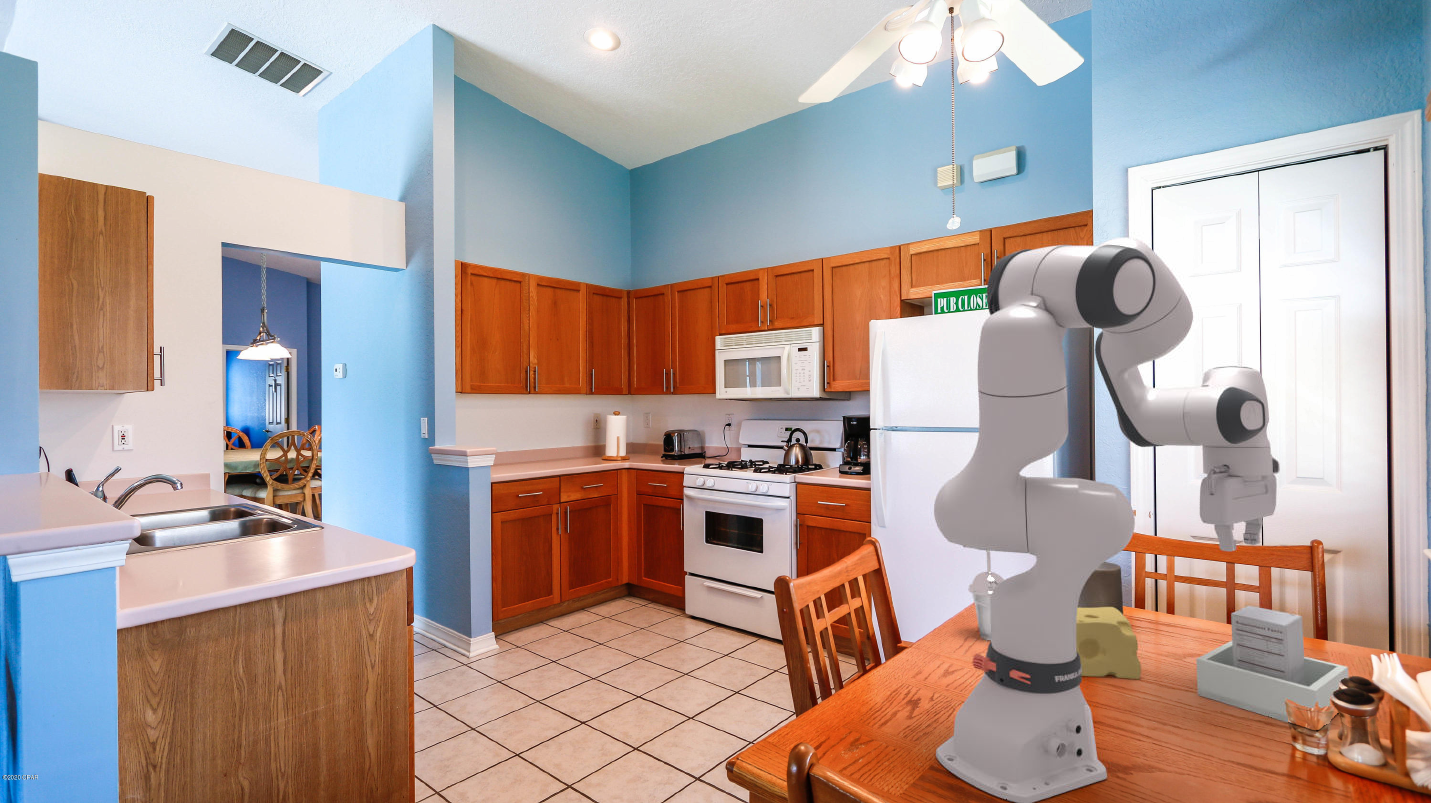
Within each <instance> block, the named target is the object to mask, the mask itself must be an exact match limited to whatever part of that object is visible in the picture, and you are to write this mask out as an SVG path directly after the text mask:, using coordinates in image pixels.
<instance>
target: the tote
mask: <svg viewBox="0 0 1431 803" xmlns="http://www.w3.org/2000/svg"><path fill="white" fill-rule="evenodd" d="M1195 661H1196V662H1195V663H1196V680H1197V681H1196V683H1197V684H1196V685H1197V686H1196V687H1197V696H1200V697H1204V698H1206V699H1207V698H1208V699H1209V700H1210V699H1211V700H1213V701H1217V702H1220V703H1223V704H1226V705H1230V706H1232V707H1236V708H1239V709H1243V710H1245V711H1249V712H1252V713H1255V714H1258V715H1262V716H1265V717H1268V716H1269V717H1268V718H1271V717H1272V718H1271V719H1275V720H1278V721H1282V722H1285V723H1288V716H1287V712H1286V705H1285V700H1286V699H1288V700H1291V701H1293V702H1295V703H1297V704H1299V705H1301V706H1305V707H1307V708H1314V706H1315V704H1316V702H1318V706H1319V707H1320V708H1323V707H1325V706H1330V695H1331V694H1332V693H1333V692H1334V691H1336V690H1338V689H1339V682H1340V681H1341V680H1342V679H1344V678H1349V667H1348V666H1345V665H1341V664H1337V663H1333V662H1328V661H1326V660H1325V661H1324V660H1321V659H1317V658H1312V657H1307V656H1304V663H1305V681H1306V686H1304V685H1300V684H1297V683H1293V682H1289V681H1285V680H1282V679H1278V678H1274V677H1270V676H1267V675H1263V674H1259V673H1255V672H1252V671H1248V670H1244V669H1240V668H1237V667H1234V664H1233V645H1232V640H1231V641H1228V642H1226V643H1224V644H1223V645H1220V646H1218V647H1217V648H1215V649H1213V650H1211V651H1209V652H1207V653H1205V654H1202V655H1201V656H1199V657H1197V658H1196V659H1195ZM1288 724H1289V723H1288Z"/></svg>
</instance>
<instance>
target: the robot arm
mask: <svg viewBox="0 0 1431 803" xmlns="http://www.w3.org/2000/svg"><path fill="white" fill-rule="evenodd" d="M989 274H990V275H989V277H988V281H987V288H986V300H987V309H988V313H989V316H988V317H987V318H986V319H985V321H984V322H983V325H982V327H981V331H980V336H979V344H978V353H977V388H978V389H977V391H978V410H979V411H978V412H979V414H978V416H979V421H978V438H977V443H976V445H975V446H976V447H975V449H974V453H973V454H972V456H971V458H970V460H969V461H968V463H967V464H966V465H965V466H964V468H962V470H961V471H960V472H959V473H958V474H956V475H955V476H953V477H952V478H951V479H949V480H948V481H946V482H945V483H944V484H943V485H942V486H941V487H940V490H938V493H937V494H936V498H935V499H934V503H933V504H934V505H933V513H934V514H933V515H934V520H935V523H936V525H937V528H938V529H939V532H940V533H941V535H942V536H943V537H944V538H945V539H946V540H947V541H948V542H949V543H951V544H955V545H959V546H966V547H970V548H969V549H973V548H974V550H978V551H979V550H980V551H986V550H987V551H990V552H1003V553H1015V554H1016V553H1019V554H1029V555H1032V556H1034V557H1035V558H1036V560H1035V563H1034V565H1033V566H1032V567H1031V568H1029V569H1028V570H1026V571H1024V572H1021V573H1017V574H1015V575H1013V576H1010V577H1008V578H1006V579H1004V581H1002V582H1000V583H999V584H998V585H997V586H996V587H995V588H994V589H993V591H992V593H991V596H990V620H991V641H990V642H989V643H988V647H987V651H986V652H985V656H983V655H981V654H979V653H975V654H974V656H973V658H972V661H971V662H972V666H973V668H974V669H976V670H981V671H983V672H984V674H983V675H982V677H981V679H980V680H979V682H978V683H977V684H976V686H975V687H974V688H973V690H972V691H971V693H970V694H969V695H968V697H967V698H966V700H965V701H964V703H963V704H962V705H961V707H960V708H959V710H958V711H957V713H956V715H955V719H954V723H953V724H954V725H953V726H954V728H953V735H952V736H951V737H949V738H948V739H947V740H946V741H944V742H943V743H942V744H941V745H940V746H938V747H937V748H936V752H935V757H936V759H937V760H938V761H939V763H940V764H941V765H942V766H943V767H944V768H945V769H947V770H948V771H949V772H951V773H952V774H954V775H955V776H956V777H958V778H960V779H961V780H962V781H964V782H967V783H968V784H970V785H972V786H974V787H975V788H977V789H979V790H982V791H983V792H986V793H988V794H990V795H992V796H995V797H996V798H997V797H998V798H1001V799H1004V800H1006V799H1007V800H1006V801H1009V802H1014V803H1035V802H1039V801H1041V800H1044V799H1048V798H1051V797H1053V796H1057V795H1060V794H1063V793H1066V792H1069V791H1072V790H1076V789H1079V788H1081V787H1082V788H1083V787H1085V786H1088V785H1090V784H1095V783H1097V782H1101V781H1104V780H1106V779H1108V773H1107V768H1106V767H1105V764H1103V763H1102V762H1101V761H1100V760H1099V759H1098V754H1097V753H1098V752H1097V745H1096V738H1095V730H1094V723H1093V715H1092V711H1091V707H1090V706H1089V704H1088V703H1087V700H1086V699H1085V697H1084V694H1083V692H1082V690H1081V686H1080V684H1081V683H1082V681H1083V680H1082V677H1083V676H1081V673H1082V665H1081V661H1080V655H1079V654H1078V652H1077V647H1076V623H1077V608H1078V601H1079V597H1080V594H1081V591H1082V589H1083V587H1084V585H1085V583H1086V581H1087V580H1088V578H1089V577H1090V576H1091V574H1092V573H1093V572H1094V571H1095V570H1096V569H1097V568H1098V567H1099V566H1100V565H1101V564H1102V563H1103V562H1107V561H1108V560H1109V559H1111V558H1113V557H1115V556H1117V555H1118V554H1119V553H1121V552H1122V551H1123V550H1124V549H1125V548H1126V547H1127V546H1128V544H1129V543H1130V541H1131V539H1132V537H1133V535H1134V532H1135V525H1136V523H1135V522H1136V521H1135V519H1136V518H1135V514H1134V510H1133V507H1132V505H1131V502H1130V501H1129V499H1128V498H1127V497H1126V495H1125V493H1123V491H1121V489H1119V488H1118V487H1117V486H1115V484H1111V483H1110V484H1109V483H1106V482H1101V481H1096V480H1090V479H1084V478H1078V477H1040V476H1039V477H1036V476H1034V477H1033V476H1026V475H1022V474H1020V473H1021V472H1022V471H1023V470H1024V468H1026V467H1027V466H1029V465H1031V464H1033V463H1034V462H1037V461H1040V460H1042V459H1044V458H1047V457H1050V456H1051V455H1052V454H1054V453H1055V452H1056V451H1058V450H1059V449H1060V448H1061V447H1062V446H1063V444H1065V443H1066V440H1067V438H1068V435H1069V413H1068V412H1069V410H1068V384H1067V383H1068V381H1067V369H1066V360H1065V359H1066V358H1065V354H1064V348H1063V341H1064V338H1065V336H1066V333H1067V331H1068V329H1076V328H1077V329H1080V328H1081V329H1082V328H1096V329H1098V330H1099V329H1101V332H1099V334H1098V335H1097V336H1096V337H1097V338H1096V340H1095V344H1094V353H1095V354H1094V355H1095V359H1096V363H1097V366H1098V368H1099V372H1100V373H1101V377H1102V380H1103V381H1104V384H1105V386H1106V388H1107V390H1108V393H1109V396H1110V398H1111V400H1112V402H1113V404H1114V407H1115V411H1116V416H1117V422H1118V425H1119V426H1118V427H1119V428H1120V430H1121V432H1122V435H1123V436H1124V437H1126V439H1127V440H1129V441H1130V442H1131V443H1133V444H1134V445H1135V446H1138V447H1140V448H1150V447H1151V448H1152V447H1164V446H1177V447H1178V446H1181V447H1186V446H1187V447H1189V446H1190V447H1193V446H1194V447H1200V446H1201V447H1202V467H1203V468H1202V469H1203V474H1205V475H1206V476H1205V477H1203V479H1202V480H1201V483H1200V490H1199V517H1200V520H1201V521H1202V523H1203V524H1206V525H1207V524H1209V525H1213V526H1214V531H1215V534H1216V537H1217V538H1218V546H1219V549H1220V550H1221V551H1223V552H1233V551H1236V550H1237V539H1235V538H1234V537H1235V536H1234V533H1233V531H1234V529H1235V527H1234V526H1235V525H1234V524H1239V523H1243V522H1244V523H1245V528H1244V529H1245V530H1244V532H1243V533H1242V534H1243V543H1244V544H1245V545H1251V546H1256V545H1259V544H1260V543H1261V538H1260V536H1261V535H1260V534H1261V530H1262V528H1263V524H1264V522H1263V518H1265V517H1270V516H1271V517H1272V516H1273V515H1274V514H1275V510H1276V507H1277V506H1276V505H1277V485H1278V484H1277V477H1276V474H1279V473H1280V462H1279V461H1278V460H1277V459H1276V458H1275V457H1274V456H1273V454H1272V450H1271V443H1270V440H1269V437H1268V434H1267V433H1268V432H1267V429H1268V426H1269V422H1270V413H1269V411H1270V410H1269V403H1268V395H1267V390H1266V386H1265V382H1264V379H1263V375H1262V373H1261V372H1260V371H1259V370H1257V369H1254V368H1252V367H1248V366H1237V365H1236V366H1234V365H1233V366H1232V365H1231V366H1230V365H1229V366H1217V367H1213V368H1211V369H1210V368H1209V369H1208V370H1206V371H1205V372H1204V373H1203V378H1202V383H1201V385H1200V386H1193V387H1177V388H1176V387H1174V388H1156V387H1151V386H1148V385H1145V383H1144V380H1143V378H1142V375H1141V372H1140V370H1139V366H1141V365H1143V364H1146V363H1149V362H1153V361H1155V360H1158V359H1161V358H1162V357H1164V356H1166V355H1167V354H1170V353H1171V352H1172V351H1173V350H1175V349H1176V348H1177V347H1179V345H1181V343H1182V342H1183V341H1184V340H1185V339H1186V337H1187V335H1188V334H1189V332H1190V331H1191V328H1192V325H1193V321H1194V312H1193V308H1192V305H1191V302H1190V300H1189V298H1188V296H1187V294H1186V292H1185V290H1184V288H1183V287H1182V286H1181V284H1180V283H1179V281H1178V279H1177V278H1176V276H1175V275H1174V273H1173V272H1172V270H1171V269H1170V268H1169V266H1168V265H1167V264H1166V263H1165V262H1164V261H1163V260H1162V258H1161V257H1160V256H1159V254H1157V253H1156V252H1155V251H1154V250H1153V249H1152V248H1150V246H1149V245H1147V243H1145V242H1144V241H1143V240H1140V239H1137V238H1132V237H1125V236H1124V237H1116V238H1113V239H1109V240H1107V241H1104V242H1102V243H1100V244H1098V245H1071V244H1059V245H1051V246H1046V247H1041V248H1040V247H1039V248H1034V249H1030V248H1025V249H1021V250H1018V251H1014V252H1011V253H1009V254H1007V255H1005V256H1003V257H1001V258H1000V259H999V260H998V261H997V262H996V263H995V264H994V267H993V268H992V269H991V272H990V273H989ZM966 547H965V548H966Z"/></svg>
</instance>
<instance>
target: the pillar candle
mask: <svg viewBox="0 0 1431 803" xmlns="http://www.w3.org/2000/svg"><path fill="white" fill-rule="evenodd" d="M1122 582H1123V581H1122V568H1121V566H1120V565H1119V564H1116V563H1112V562H1107V561H1105V562H1103V563H1102V564H1101V565H1100V566H1099V567H1098V568H1097V569H1096V570H1095V571H1094V572H1093V573H1092V574H1091V576H1090V577H1089V578H1088V580H1087V581H1086V583H1085V585H1084V587H1083V589H1082V591H1081V594H1080V597H1079V601H1078V608H1098V607H1114V608H1116V609H1117V610H1119V611H1120V612H1121V613H1122V614H1123V615H1124V603H1123V583H1122Z"/></svg>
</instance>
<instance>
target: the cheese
mask: <svg viewBox="0 0 1431 803" xmlns="http://www.w3.org/2000/svg"><path fill="white" fill-rule="evenodd" d="M1132 628H1133V627H1132V625H1131V622H1130V621H1129V619H1128V618H1127V617H1126V616H1125V615H1124V613H1123V614H1122V613H1121V612H1120V611H1119V610H1117V609H1116V608H1114V607H1098V608H1077V623H1076V647H1077V652H1078V654H1079V655H1080V661H1081V665H1082V673H1081V676H1082V677H1106V676H1109V675H1110V676H1114V677H1116V678H1117V679H1128V680H1130V679H1131V680H1140V677H1141V673H1142V672H1141V671H1142V670H1141V669H1142V667H1141V663H1140V662H1141V661H1140V660H1139V658H1138V651H1139V650H1138V649H1139V643H1138V639H1137V636H1136V634H1135V633H1134V631H1133V629H1132Z"/></svg>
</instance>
